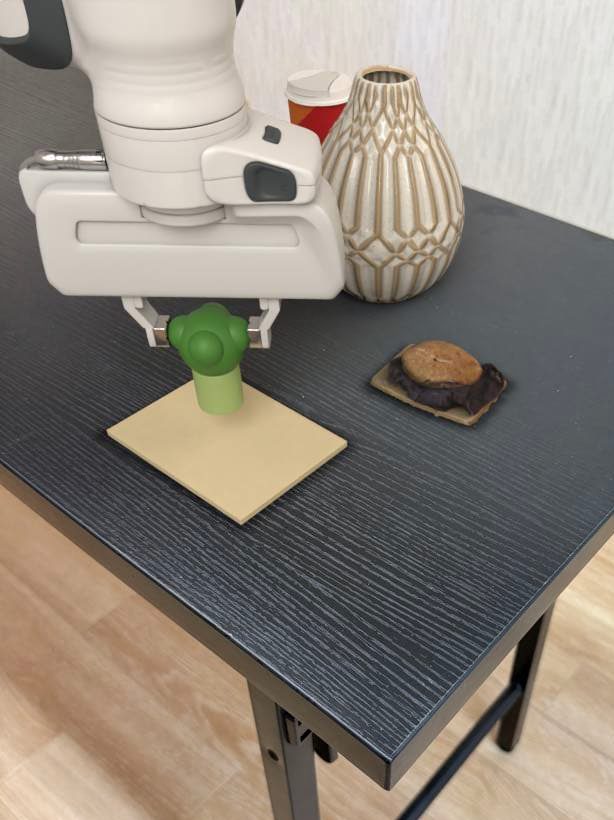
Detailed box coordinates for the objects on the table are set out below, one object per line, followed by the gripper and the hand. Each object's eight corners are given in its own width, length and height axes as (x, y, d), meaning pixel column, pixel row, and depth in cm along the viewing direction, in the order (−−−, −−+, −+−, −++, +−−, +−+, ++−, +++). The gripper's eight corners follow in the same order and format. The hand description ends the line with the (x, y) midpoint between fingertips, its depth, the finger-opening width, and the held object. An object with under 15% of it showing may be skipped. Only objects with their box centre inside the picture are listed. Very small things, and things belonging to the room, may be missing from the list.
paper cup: (314, 188, 100) (308, 62, 90) (368, 202, 98) (368, 75, 87) (279, 213, 95) (268, 83, 85) (335, 229, 93) (330, 97, 83)
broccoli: (175, 425, 62) (155, 335, 56) (188, 377, 66) (170, 289, 60) (256, 426, 62) (244, 337, 56) (264, 378, 66) (254, 290, 60)
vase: (298, 319, 80) (281, 102, 65) (317, 242, 91) (306, 41, 76) (458, 327, 80) (478, 112, 65) (458, 249, 90) (475, 49, 76)
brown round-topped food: (364, 390, 72) (364, 355, 70) (414, 345, 77) (415, 311, 75) (467, 432, 69) (471, 397, 66) (512, 383, 74) (517, 348, 71)
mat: (107, 435, 67) (106, 429, 67) (216, 371, 74) (215, 365, 73) (241, 525, 60) (240, 520, 60) (347, 446, 67) (347, 441, 67)
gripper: (-8, 170, 47) (59, 366, 58) (340, 176, 48) (346, 369, 58) (24, 128, 52) (81, 318, 62) (343, 135, 52) (348, 321, 63)
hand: (212, 343), depth 60 cm, fingers closed on broccoli, 6 cm apart
